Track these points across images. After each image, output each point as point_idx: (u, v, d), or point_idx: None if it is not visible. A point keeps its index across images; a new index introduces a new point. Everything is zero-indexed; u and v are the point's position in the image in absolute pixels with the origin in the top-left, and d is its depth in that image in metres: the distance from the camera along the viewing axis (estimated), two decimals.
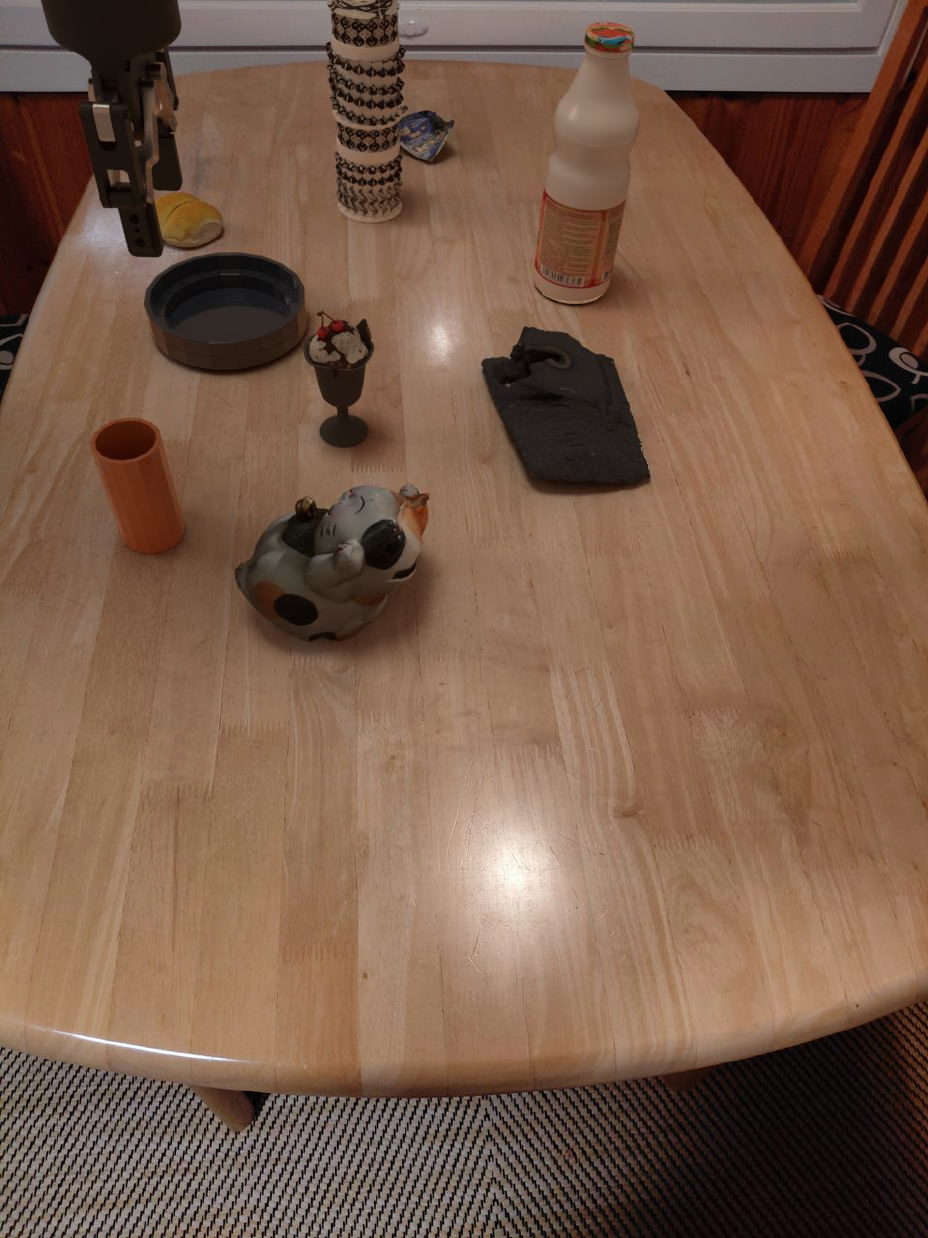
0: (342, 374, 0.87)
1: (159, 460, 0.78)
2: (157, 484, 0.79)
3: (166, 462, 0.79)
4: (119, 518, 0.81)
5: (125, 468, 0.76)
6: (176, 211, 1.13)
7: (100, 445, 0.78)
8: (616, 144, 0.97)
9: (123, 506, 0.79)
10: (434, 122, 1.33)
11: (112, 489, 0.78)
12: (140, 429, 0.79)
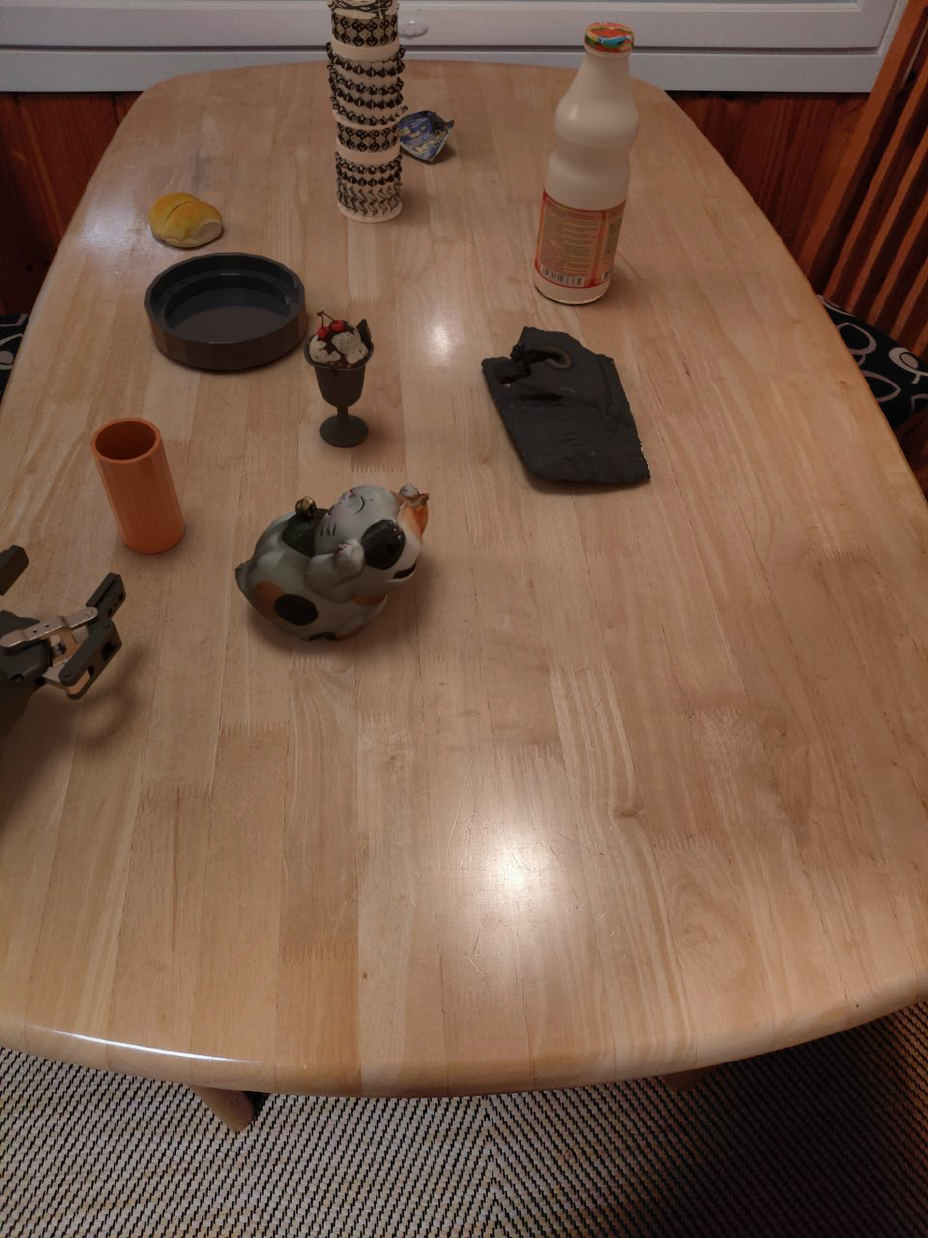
0: (342, 374, 0.87)
1: (159, 460, 0.78)
2: (157, 484, 0.79)
3: (166, 462, 0.79)
4: (119, 518, 0.81)
5: (125, 468, 0.76)
6: (176, 211, 1.13)
7: (100, 445, 0.78)
8: (616, 144, 0.97)
9: (123, 506, 0.79)
10: (434, 122, 1.33)
11: (112, 489, 0.78)
12: (140, 429, 0.79)
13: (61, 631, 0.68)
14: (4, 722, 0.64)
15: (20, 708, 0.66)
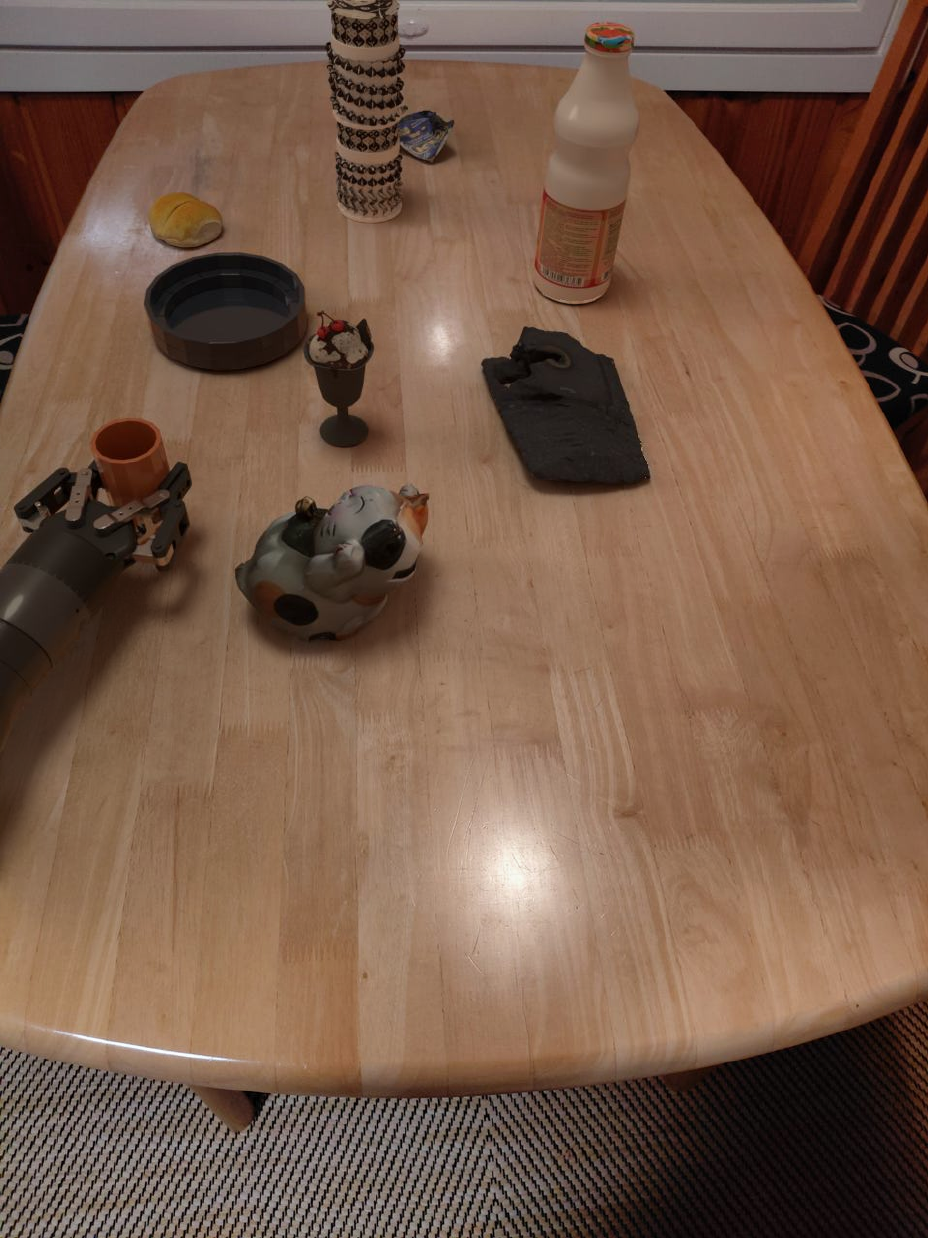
0: (342, 374, 0.87)
1: (159, 460, 0.78)
2: (157, 484, 0.79)
3: (166, 462, 0.79)
4: None
5: (125, 468, 0.76)
6: (176, 211, 1.13)
7: (100, 445, 0.78)
8: (616, 144, 0.97)
9: None
10: (434, 122, 1.33)
11: (112, 489, 0.78)
12: (140, 429, 0.79)
13: (143, 512, 0.77)
14: (100, 593, 0.73)
15: (112, 583, 0.74)
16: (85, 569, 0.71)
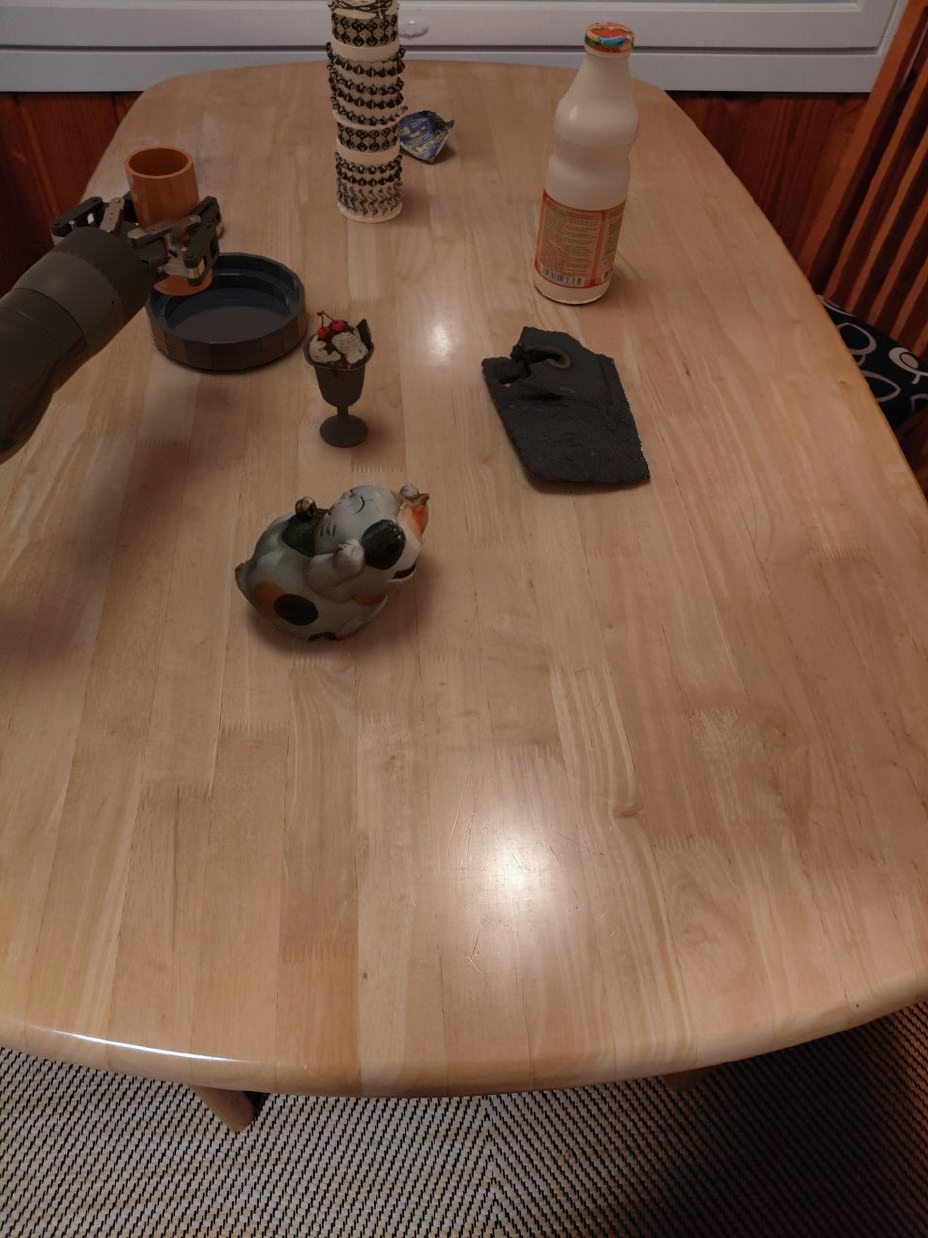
0: (342, 374, 0.87)
1: (191, 183, 0.79)
2: (188, 211, 0.80)
3: (197, 191, 0.81)
4: None
5: (158, 184, 0.78)
6: None
7: (133, 169, 0.80)
8: (616, 144, 0.97)
9: None
10: (434, 122, 1.33)
11: (144, 213, 0.80)
12: (172, 158, 0.81)
13: (175, 230, 0.78)
14: (134, 294, 0.74)
15: (145, 290, 0.76)
16: (121, 265, 0.73)
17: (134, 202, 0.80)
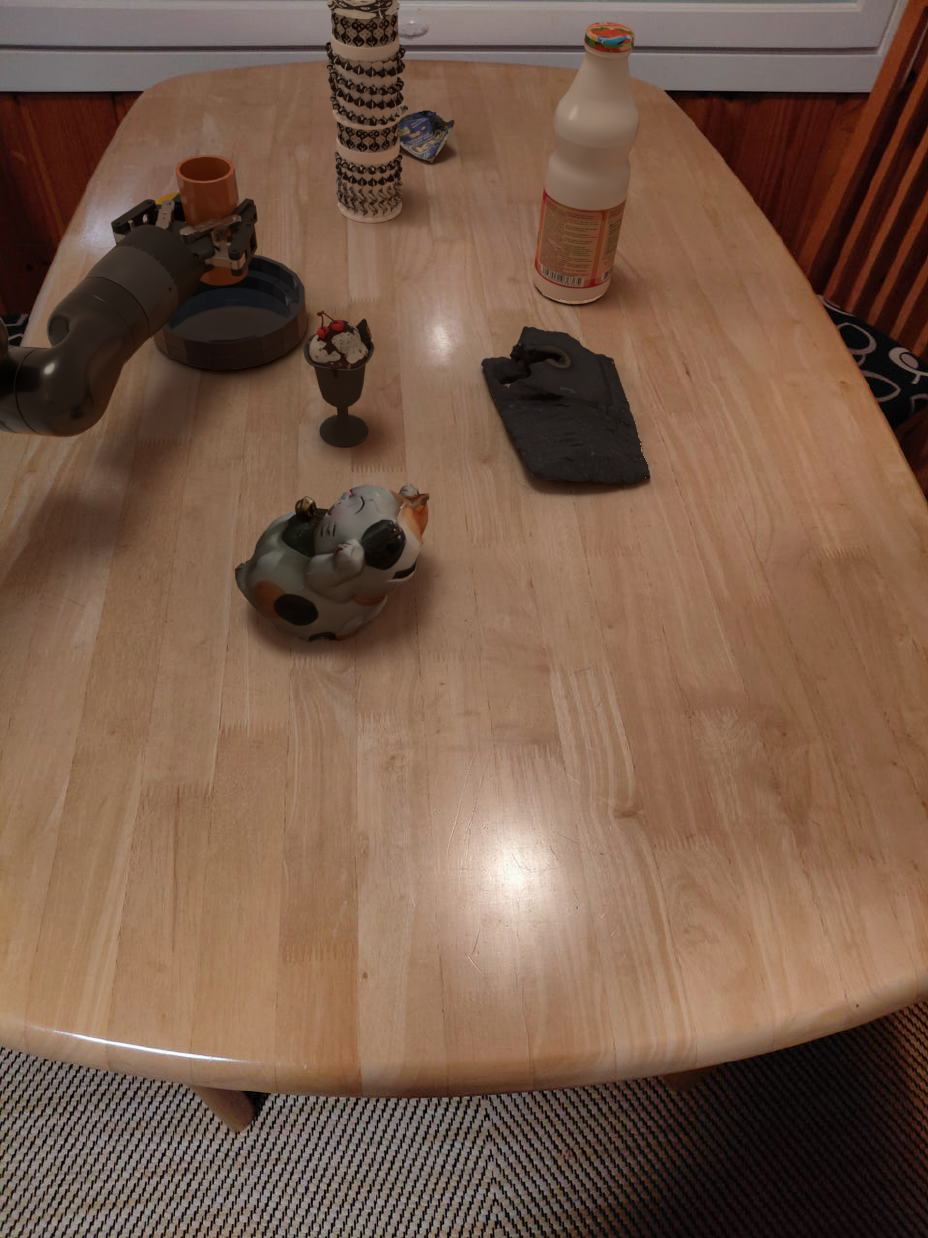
0: (342, 374, 0.87)
1: (232, 187, 0.92)
2: (230, 211, 0.93)
3: (237, 194, 0.93)
4: None
5: (205, 188, 0.90)
6: None
7: (182, 175, 0.92)
8: (616, 144, 0.97)
9: None
10: (434, 122, 1.33)
11: (192, 213, 0.92)
12: (215, 165, 0.93)
13: (219, 228, 0.91)
14: (186, 282, 0.86)
15: (195, 279, 0.88)
16: (176, 257, 0.85)
17: (183, 204, 0.92)
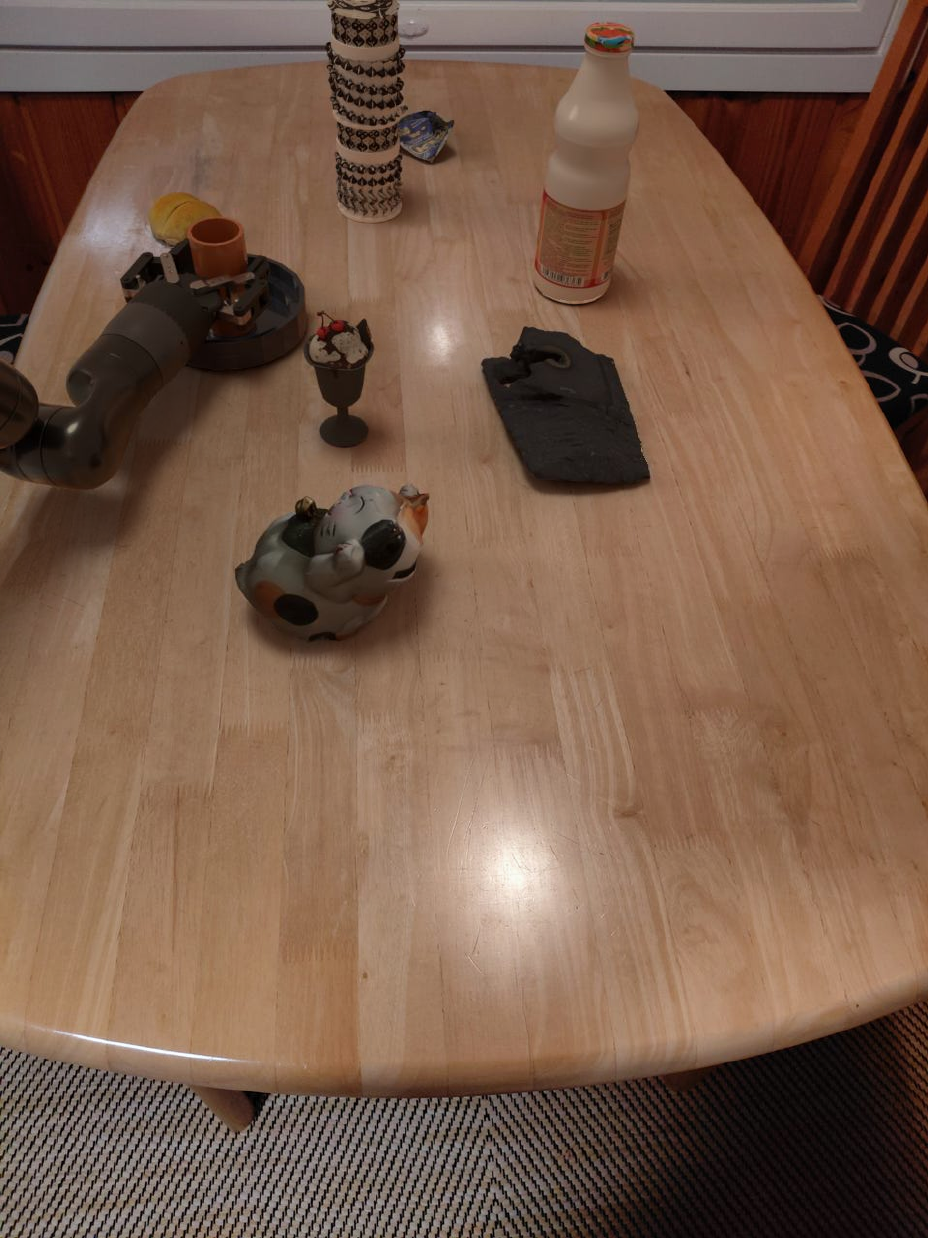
0: (342, 374, 0.87)
1: (241, 248, 0.97)
2: (239, 270, 0.98)
3: (246, 253, 0.98)
4: None
5: (216, 250, 0.95)
6: (176, 211, 1.13)
7: (194, 236, 0.97)
8: (616, 144, 0.97)
9: None
10: (434, 122, 1.33)
11: (203, 272, 0.97)
12: (225, 226, 0.98)
13: (230, 284, 0.95)
14: (197, 335, 0.91)
15: (205, 331, 0.93)
16: (187, 312, 0.90)
17: (195, 263, 0.97)
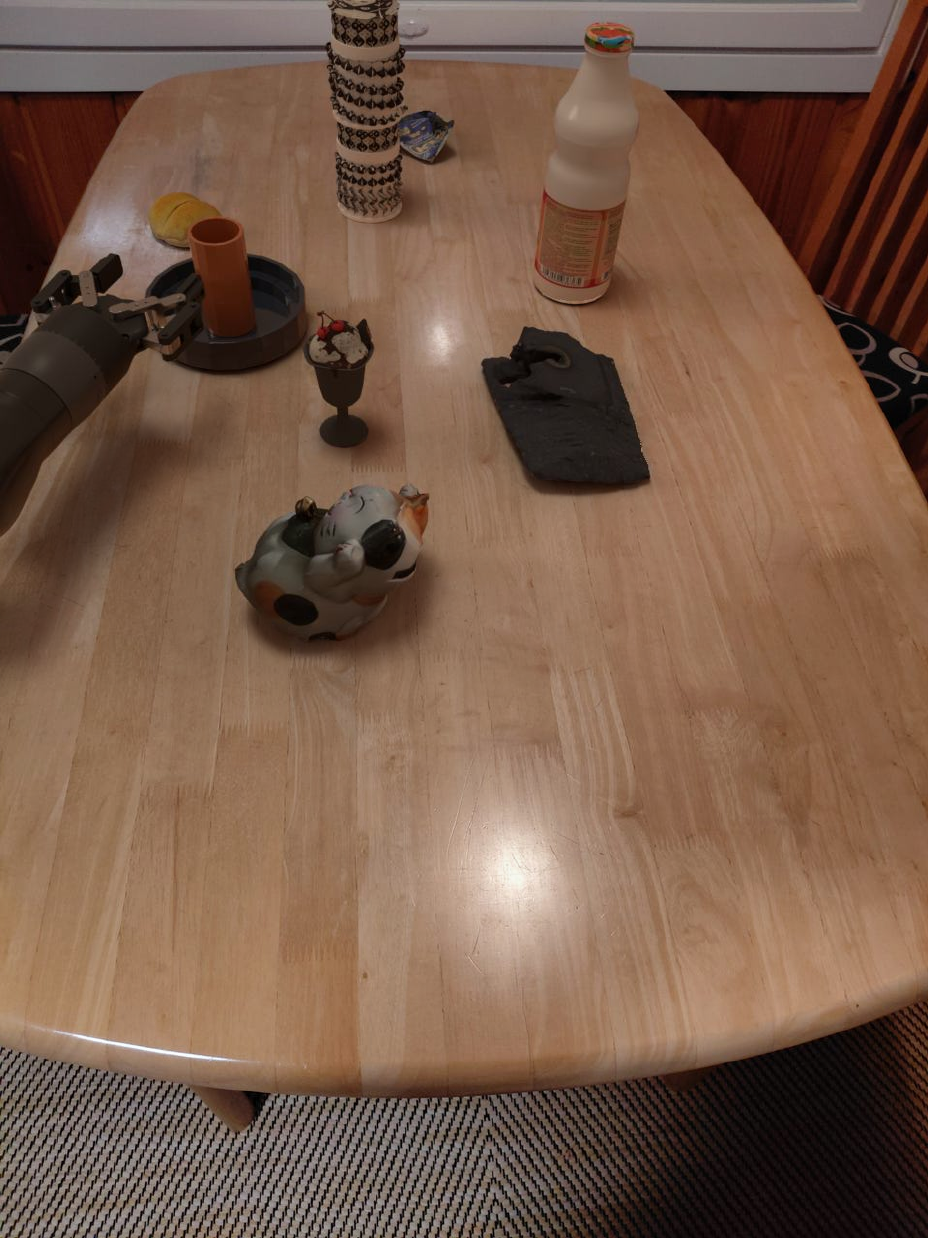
0: (342, 374, 0.87)
1: (241, 248, 0.97)
2: (239, 270, 0.98)
3: (246, 253, 0.98)
4: (206, 302, 1.00)
5: (216, 250, 0.95)
6: (176, 211, 1.13)
7: (194, 236, 0.97)
8: (616, 144, 0.97)
9: (211, 288, 0.98)
10: (434, 122, 1.33)
11: (203, 272, 0.97)
12: (225, 226, 0.98)
13: (157, 308, 0.83)
14: (115, 367, 0.80)
15: (126, 362, 0.81)
16: (102, 341, 0.78)
17: (195, 263, 0.97)
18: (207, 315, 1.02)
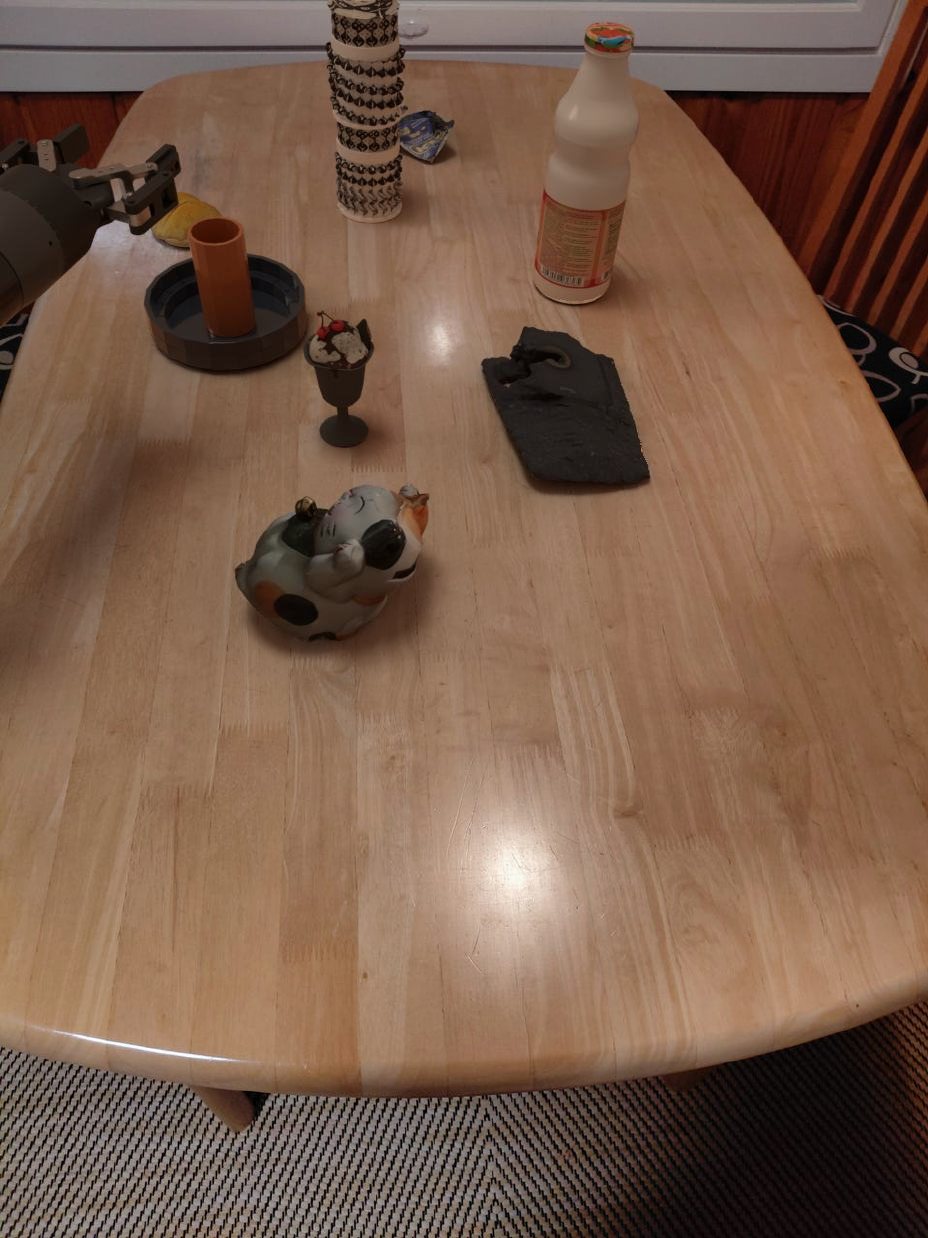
0: (342, 374, 0.87)
1: (241, 248, 0.97)
2: (239, 270, 0.98)
3: (246, 253, 0.98)
4: (206, 302, 1.00)
5: (216, 250, 0.95)
6: (176, 211, 1.13)
7: (194, 236, 0.97)
8: (616, 144, 0.97)
9: (211, 288, 0.98)
10: (434, 122, 1.33)
11: (203, 272, 0.97)
12: (225, 226, 0.98)
13: (124, 176, 0.73)
14: (74, 236, 0.70)
15: (88, 233, 0.71)
16: (59, 204, 0.68)
17: (195, 263, 0.97)
18: (207, 315, 1.02)
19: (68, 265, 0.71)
